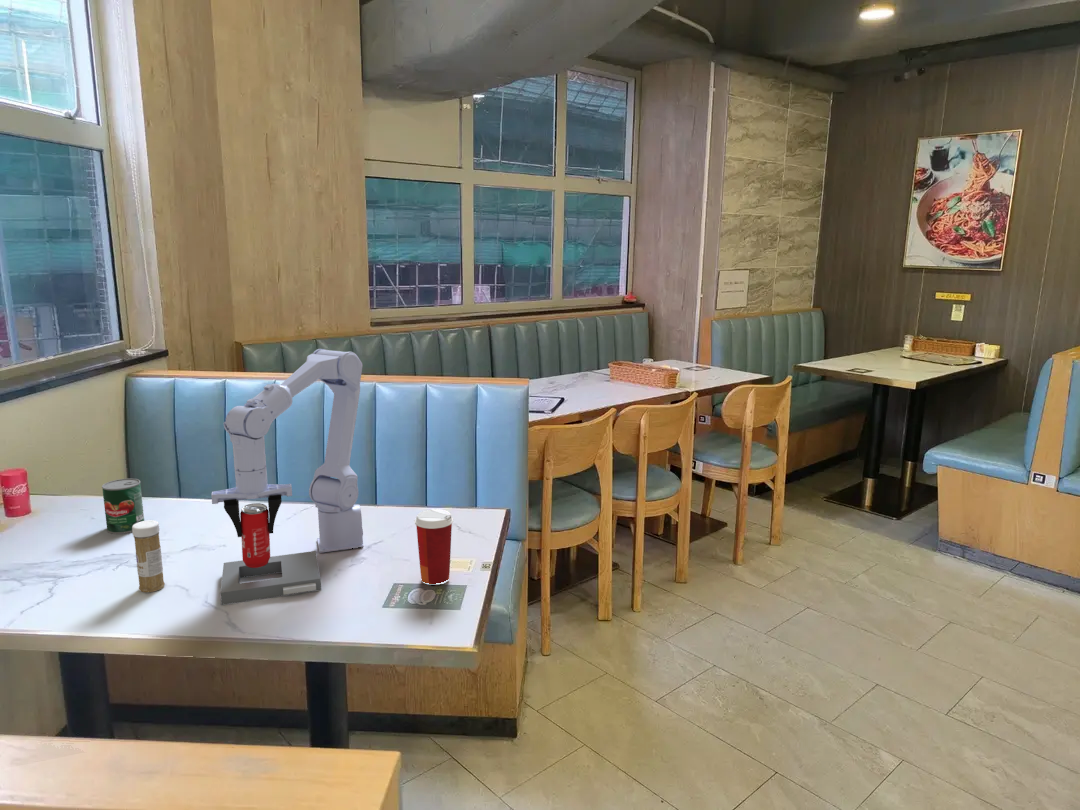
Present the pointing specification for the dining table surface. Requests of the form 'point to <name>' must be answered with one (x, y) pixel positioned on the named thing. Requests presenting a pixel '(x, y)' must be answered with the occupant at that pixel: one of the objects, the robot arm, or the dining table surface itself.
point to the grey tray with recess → (295, 579)
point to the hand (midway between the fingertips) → (255, 533)
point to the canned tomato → (122, 505)
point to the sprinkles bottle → (148, 555)
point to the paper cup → (434, 544)
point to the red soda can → (255, 535)
